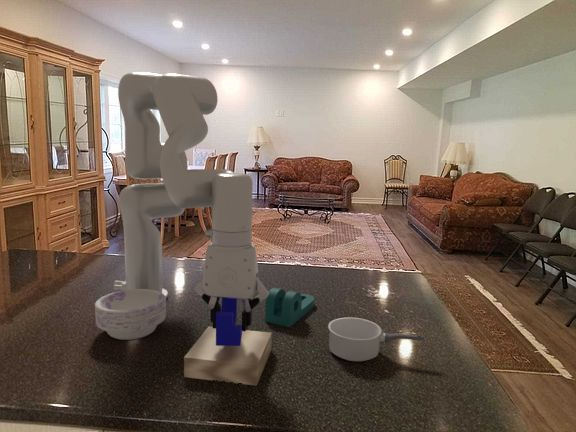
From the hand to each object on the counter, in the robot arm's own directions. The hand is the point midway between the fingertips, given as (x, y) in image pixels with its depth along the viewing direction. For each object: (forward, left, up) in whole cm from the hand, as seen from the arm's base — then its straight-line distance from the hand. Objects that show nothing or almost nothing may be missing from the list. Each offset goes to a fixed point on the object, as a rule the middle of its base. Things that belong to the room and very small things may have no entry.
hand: (231, 326), depth 87 cm
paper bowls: (-26, +9, -8) cm, 29 cm away
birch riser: (0, 0, -8) cm, 8 cm away
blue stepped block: (0, 0, -1) cm, 1 cm away
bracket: (+8, +29, -8) cm, 31 cm away
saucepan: (+29, +10, -8) cm, 31 cm away
